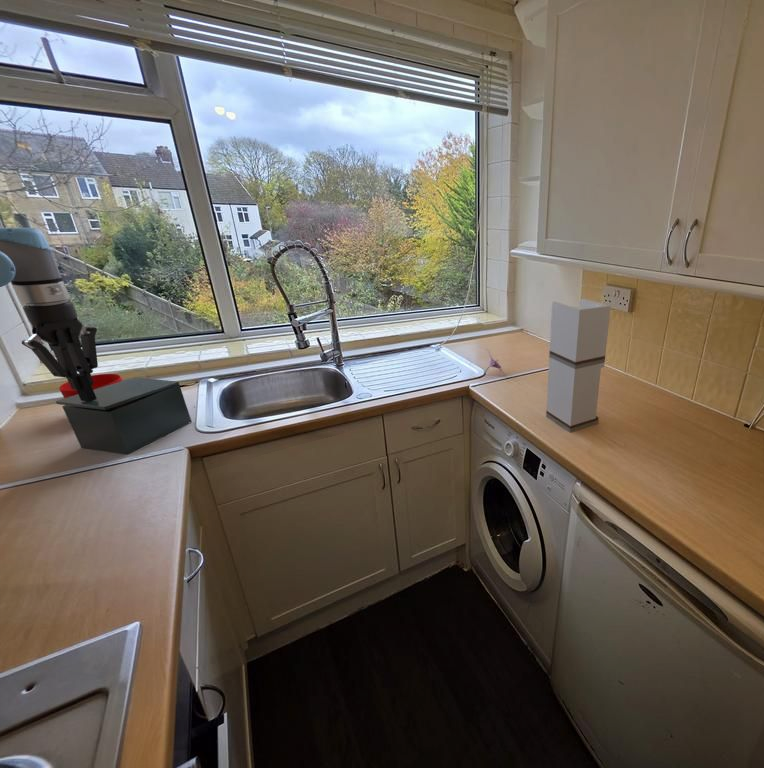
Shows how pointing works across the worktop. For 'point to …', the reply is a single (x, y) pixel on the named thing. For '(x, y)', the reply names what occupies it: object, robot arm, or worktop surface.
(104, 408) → the bin lid
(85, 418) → the bin
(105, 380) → the red bowl
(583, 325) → the white tall square block
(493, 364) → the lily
